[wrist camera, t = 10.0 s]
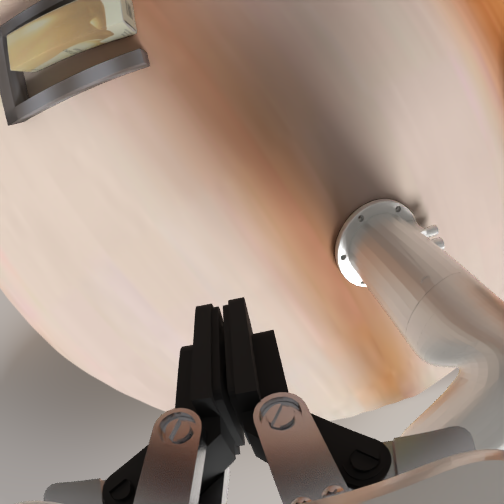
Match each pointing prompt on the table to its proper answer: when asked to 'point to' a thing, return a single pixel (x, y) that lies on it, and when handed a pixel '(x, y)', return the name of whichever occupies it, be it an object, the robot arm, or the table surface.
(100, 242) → the table surface
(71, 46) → the skincare box
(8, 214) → the table surface
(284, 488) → the robot arm
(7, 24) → the u rest
